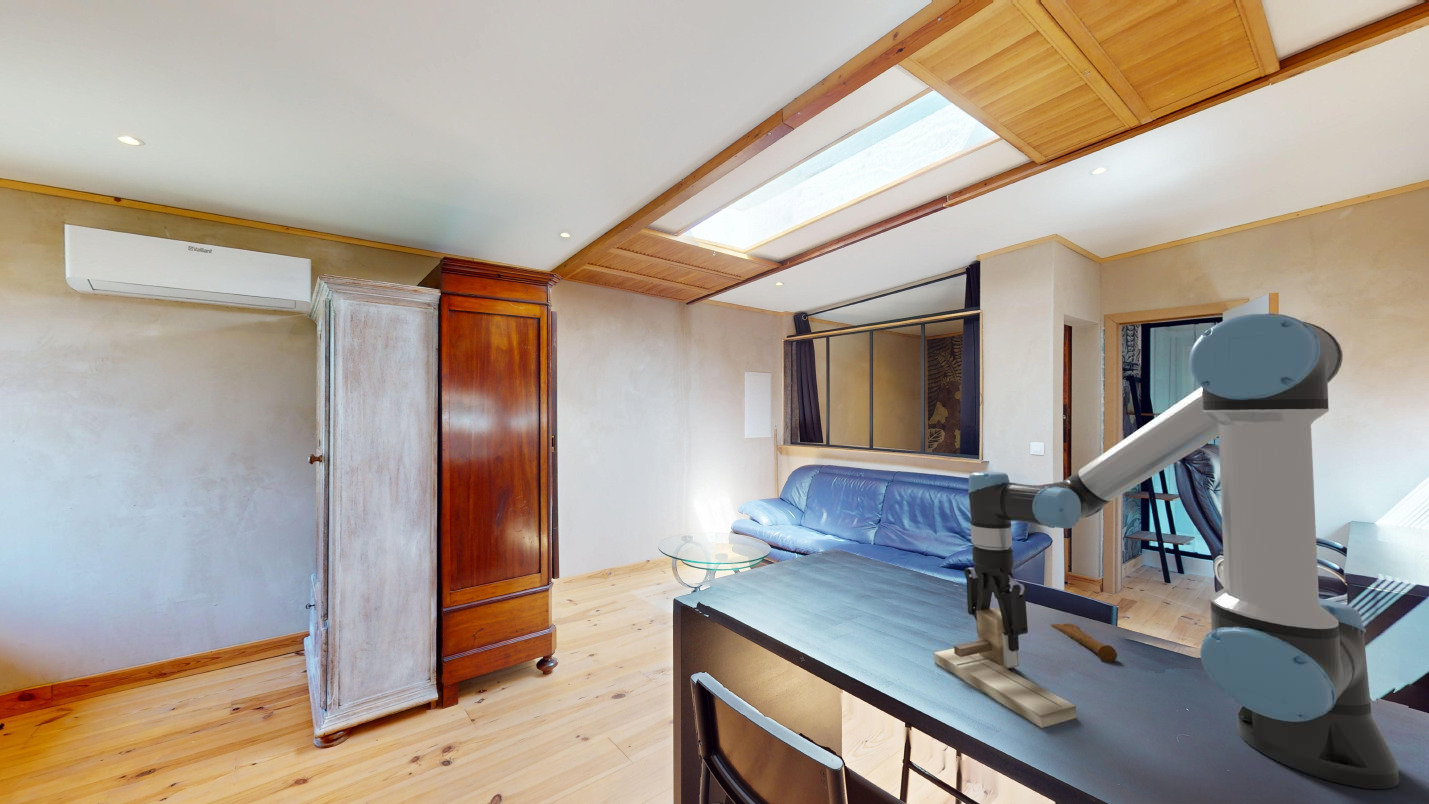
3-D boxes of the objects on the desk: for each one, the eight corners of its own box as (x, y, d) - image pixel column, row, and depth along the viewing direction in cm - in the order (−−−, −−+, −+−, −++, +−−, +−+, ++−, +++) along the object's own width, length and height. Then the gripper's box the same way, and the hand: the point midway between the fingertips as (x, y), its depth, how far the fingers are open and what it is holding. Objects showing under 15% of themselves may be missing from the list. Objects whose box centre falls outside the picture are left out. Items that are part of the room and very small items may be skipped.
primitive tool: (1049, 626, 120) (1048, 611, 120) (1073, 626, 119) (1072, 612, 119) (1100, 664, 101) (1099, 646, 101) (1129, 664, 100) (1128, 647, 100)
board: (1076, 717, 82) (1075, 705, 82) (1041, 727, 80) (1040, 715, 80) (964, 655, 105) (963, 646, 105) (934, 662, 102) (933, 652, 103)
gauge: (1018, 666, 98) (1015, 616, 99) (968, 677, 94) (965, 625, 95) (997, 655, 103) (994, 607, 104) (948, 666, 99) (946, 616, 100)
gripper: (1046, 554, 94) (1054, 676, 93) (971, 535, 111) (976, 638, 110) (1016, 558, 92) (1024, 683, 90) (944, 538, 109) (950, 643, 108)
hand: (998, 658), depth 100 cm, fingers closed on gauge, 5 cm apart
